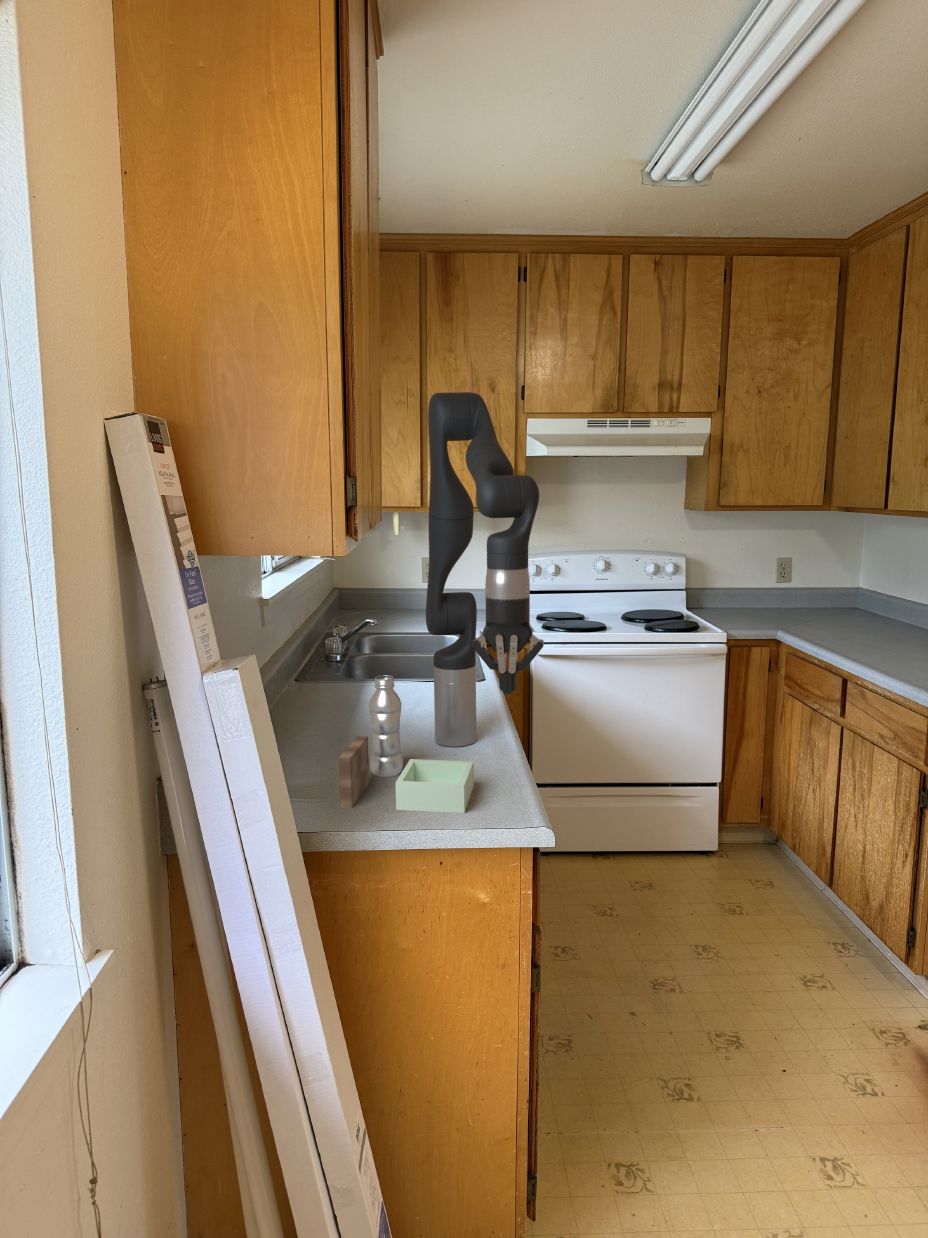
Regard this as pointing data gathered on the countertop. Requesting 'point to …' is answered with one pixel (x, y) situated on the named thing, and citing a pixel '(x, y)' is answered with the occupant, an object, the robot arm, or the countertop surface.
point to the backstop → (354, 771)
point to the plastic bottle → (385, 728)
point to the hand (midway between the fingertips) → (507, 692)
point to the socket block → (435, 786)
